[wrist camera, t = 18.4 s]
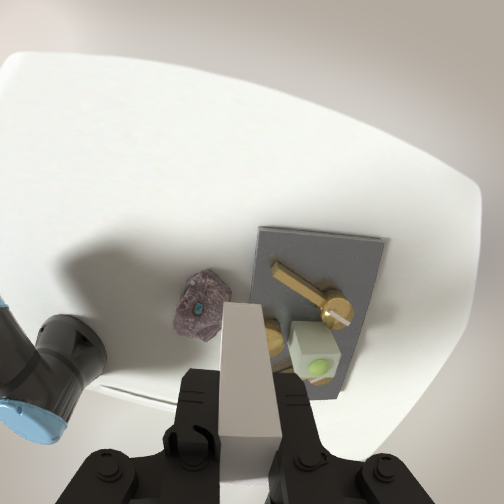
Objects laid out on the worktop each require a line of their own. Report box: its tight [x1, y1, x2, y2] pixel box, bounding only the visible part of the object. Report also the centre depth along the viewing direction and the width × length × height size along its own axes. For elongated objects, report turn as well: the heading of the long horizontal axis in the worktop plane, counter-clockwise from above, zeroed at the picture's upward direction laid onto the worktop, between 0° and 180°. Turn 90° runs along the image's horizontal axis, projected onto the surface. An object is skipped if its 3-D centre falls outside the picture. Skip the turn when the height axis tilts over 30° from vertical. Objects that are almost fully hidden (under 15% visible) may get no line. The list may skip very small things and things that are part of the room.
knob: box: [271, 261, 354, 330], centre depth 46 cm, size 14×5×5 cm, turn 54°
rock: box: [173, 270, 231, 342], centre depth 49 cm, size 8×11×5 cm
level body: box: [287, 321, 341, 378], centre depth 47 cm, size 6×5×10 cm
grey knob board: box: [250, 227, 384, 400], centre depth 51 cm, size 20×34×6 cm, turn 174°
